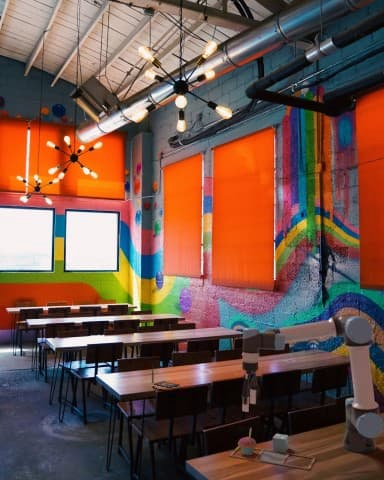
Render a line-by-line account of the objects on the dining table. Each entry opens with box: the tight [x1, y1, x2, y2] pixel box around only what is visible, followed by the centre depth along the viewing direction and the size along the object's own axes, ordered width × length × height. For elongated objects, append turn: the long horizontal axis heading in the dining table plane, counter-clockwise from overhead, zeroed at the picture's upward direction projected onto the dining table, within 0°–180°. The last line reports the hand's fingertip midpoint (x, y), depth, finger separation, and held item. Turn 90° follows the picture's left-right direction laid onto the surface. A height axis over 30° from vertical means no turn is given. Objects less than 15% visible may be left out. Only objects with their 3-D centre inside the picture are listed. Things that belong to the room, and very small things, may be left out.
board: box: [228, 445, 317, 471], centre depth 215 cm, size 14×37×1 cm, turn 64°
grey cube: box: [272, 433, 289, 453], centre depth 225 cm, size 6×6×6 cm
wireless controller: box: [151, 364, 180, 388], centre depth 342 cm, size 20×14×17 cm
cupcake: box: [237, 428, 257, 456], centre depth 220 cm, size 9×8×12 cm
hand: (249, 407), depth 218 cm, fingers open, 13 cm apart
